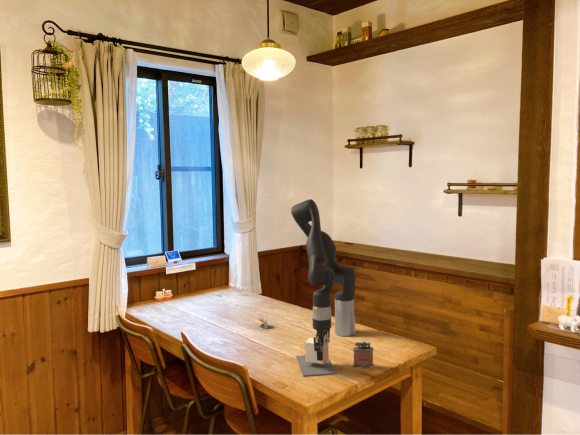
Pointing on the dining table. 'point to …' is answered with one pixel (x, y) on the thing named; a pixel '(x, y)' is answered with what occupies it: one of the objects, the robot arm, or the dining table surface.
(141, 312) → the dining table surface
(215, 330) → the dining table surface
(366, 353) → the lighter
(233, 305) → the dining table surface
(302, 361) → the mat
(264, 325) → the architectural model
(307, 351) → the block
